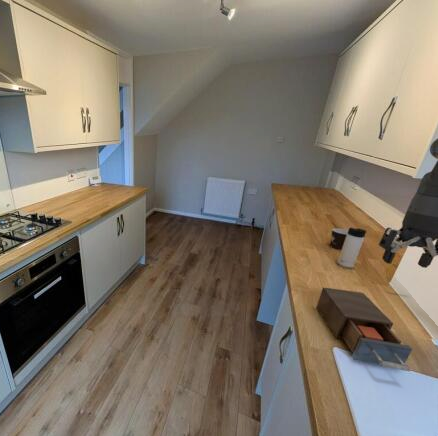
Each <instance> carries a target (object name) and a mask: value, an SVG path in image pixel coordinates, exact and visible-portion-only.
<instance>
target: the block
mask: <svg viewBox="0 0 438 436" xmlns="http://www.w3.org/2000/svg"><path fill="white" fill-rule="evenodd" d="M356 327H357V328H358V329H359V331H360V332H361V333H362V335H363V336H362V338H366V339H372V340H378V341H383V340H384V339H383V338H382V337H381V336H380V335H379V333H378V332H377V331H376V330H375V329H374V328H372V327H365V326H359V325H357V326H356Z"/></svg>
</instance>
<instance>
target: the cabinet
mask: <svg viewBox="0 0 438 436" xmlns="http://www.w3.org/2000/svg"><path fill="white" fill-rule="evenodd" d="M316 309H317V311H318V312H319V314H320V315H321V317H322V319H323V320H324V322H325V323H326V325H327V327H328V329H329V330H330V331H331V333H332V334H333V336H334V337H335V339H336V340H342V341H344V339H343V338H342V336H341V332H342V330H343V327H344V324H345V322H346V319H353V320H360V321H366V322H373V323H379V324H386V325H387V326H388V327H389V328H390V330H391V331H392V328H393V325H394V322H393V321H392V320H390V318H389V317H388V316H387V315H386V314H385V313H384V312H383V311H382V310H381V309H380V308H379V307H378V305H376V304H375V303H374V302H373V301H372V300H371V299H370V298H369V297H368V296H367V295H366V294H365V292H362V291H355V290H354V291H353V290H346V289H339V288H338V289H337V288H331V287H324V286H323V287H322V289H321V292H320V295H319V298H318V301H317V305H316Z"/></svg>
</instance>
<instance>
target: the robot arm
mask: <svg viewBox="0 0 438 436" xmlns="http://www.w3.org/2000/svg"><path fill="white" fill-rule="evenodd" d="M429 153H430V156H432V157H433V158H434V159H436V160H437V161H436V162H435V164H434V166H433V167H432V170H431V171H428V172H426V173H425V174H424V175H423V176H422V178H421V179H420V183H419V184H418V187H417V190H416V192H415V194H414V195H413V197H412V198H411V200H410V202H409V204H408V207H407V209H406V212H405V213H404V216H403V219H402V222H401V223H402V224H401V227H400V229H394V228H391V227H387V228H385V230H384V233H383V235H382V237H381V239H380V241H379V243H378V246H379V247H381V248H382V249H383V250H384V252H383V255H382V257H381V258H382V260H383V262H385V263H386V264H387V265H388V264H389V265H392V263H393V261H394V258H395V256H396V252H398V251H399V250H401V249H405V248H407V247H412V248H413V247H417V248H421V249H422V250H423V252H422V253H421V255H420V258H419V259H418V262H417V265H418V266H420V267H421V268H425V269H426V268H428V267H429V266H430V265H431V263H432V262H433V260H434V258H435V257H438V137H437V138H436V139H435V140H434V141H432V143H431V144H430V146H429ZM434 242H435V244H434Z"/></svg>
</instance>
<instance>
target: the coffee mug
mask: <svg viewBox="0 0 438 436" xmlns="http://www.w3.org/2000/svg"><path fill="white" fill-rule="evenodd" d="M347 233H348V230H347V229H344V228H339V227H338V228H332V230H331V235H330V242H329V247H330V248H331V249H334V250H338V251H341V250H342V248H343V245H344V242H345V239H346V236H347ZM331 246H332V247H331Z"/></svg>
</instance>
